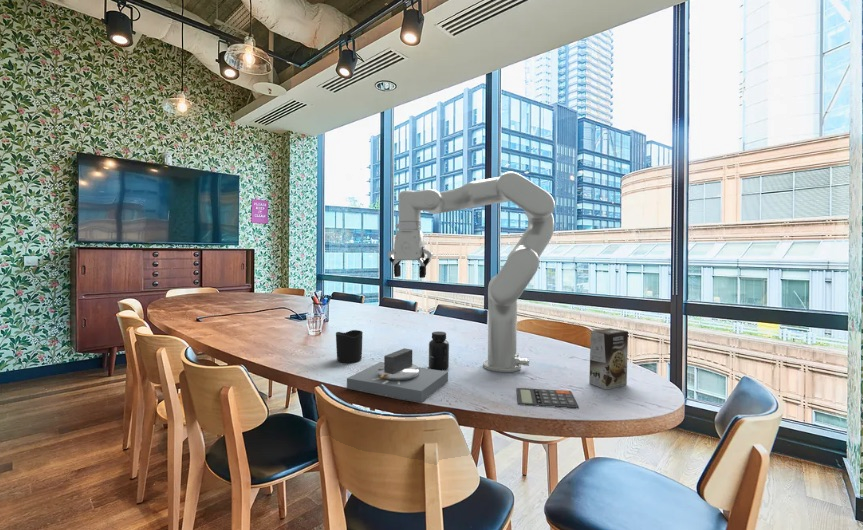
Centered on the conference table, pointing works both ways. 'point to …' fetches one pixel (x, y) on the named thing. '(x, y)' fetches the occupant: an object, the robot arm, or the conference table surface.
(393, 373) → the gray block on plate
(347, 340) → the pen holder
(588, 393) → the conference table surface
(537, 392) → the calculator
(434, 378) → the stand
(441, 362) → the supplement bottle
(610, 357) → the coffee box
